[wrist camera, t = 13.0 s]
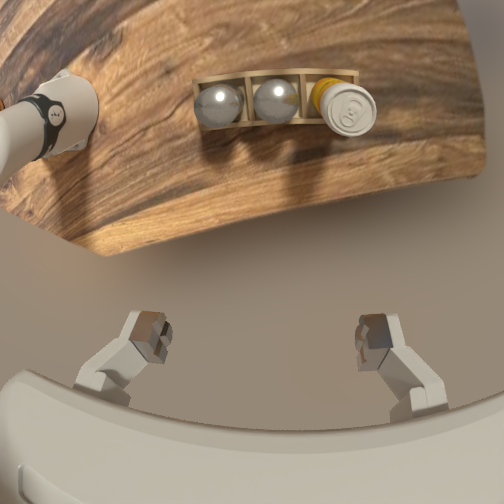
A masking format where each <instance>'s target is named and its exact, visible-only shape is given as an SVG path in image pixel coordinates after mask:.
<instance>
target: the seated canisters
mask: <svg viewBox="0 0 504 504" xmlns="http://www.w3.org/2000/svg"><path fill="white" fill-rule="evenodd" d="M244 104H245V97H244V94H243V92H242V90H241V89H240V88H239V87H238V86H236V85H234V84H231V83H221V84H218V85H215V86H212V87H210V88H207V89H205V90H203V91H202V92H201V93H200V94H199V95H198V96H197V98H196V100H195V103H194V112H195V115H196V117H197V119H198V120H199V121H200V122H201V123H202V124H203V125H205V126H207V127H210V128H222V127H225V126H227V125H229V124H230V123H231V122H232V121H233V120H234V119H235V118H236V117H237V115H238V114H239V113H240V112H241V111H242V109H243V107H244ZM253 107H254V109H255V111H256V113H257V114H258V116H259V117H261V118H262V119H263V120H265V121H267V122H270V123H284V122H286V121H288V120H290V119H292V118H293V117H294V116H295V114H296V113H297V111H298V109H299V97H298V94H297V92H296V90H295V88H294V86H293V85H292V84H291V83H290V82H288V81H287V80H284V79H281V78H273V79H269V80H267V81H265V82H264V83H263V84H262V85H261V86H260V87H259V88H258V89H257V90H256V92H255V94H254V96H253Z"/></svg>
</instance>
